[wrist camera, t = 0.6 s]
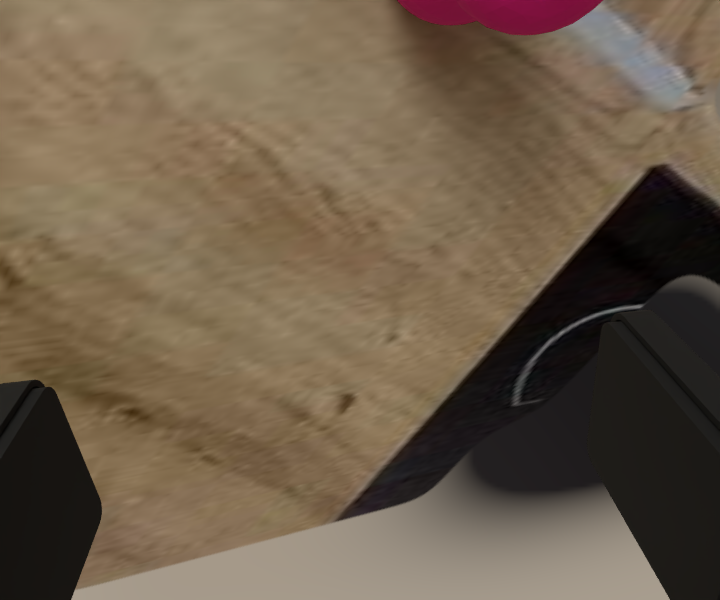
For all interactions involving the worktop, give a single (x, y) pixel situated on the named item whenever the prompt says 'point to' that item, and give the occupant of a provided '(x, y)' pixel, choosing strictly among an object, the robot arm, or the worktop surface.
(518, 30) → the pepper mill
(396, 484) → the worktop surface
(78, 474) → the robot arm
